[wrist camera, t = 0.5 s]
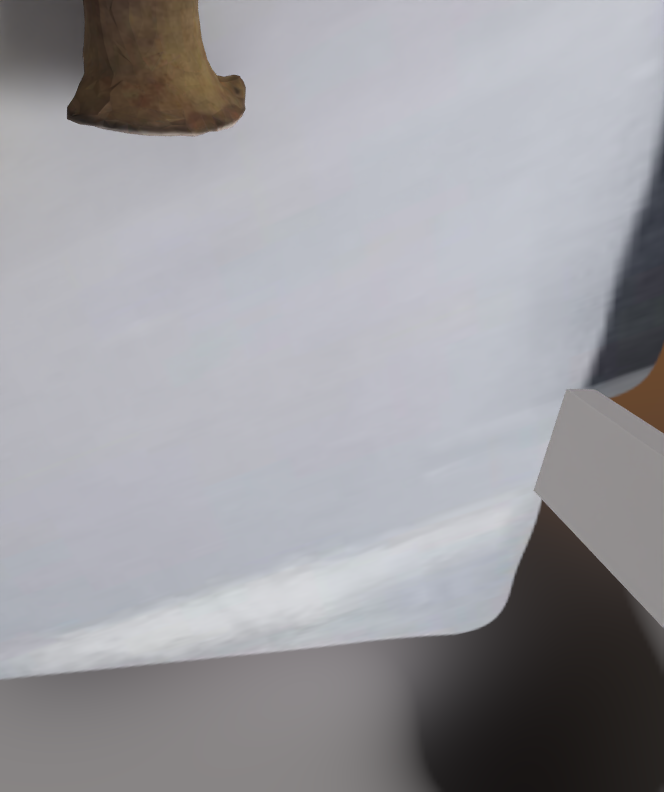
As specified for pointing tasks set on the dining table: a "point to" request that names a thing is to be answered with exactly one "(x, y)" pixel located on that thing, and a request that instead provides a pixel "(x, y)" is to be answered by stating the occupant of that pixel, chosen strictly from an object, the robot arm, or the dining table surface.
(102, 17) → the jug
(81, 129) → the dining table surface
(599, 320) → the dining table surface
